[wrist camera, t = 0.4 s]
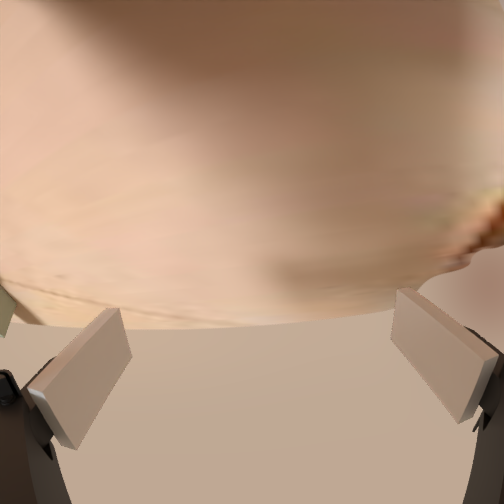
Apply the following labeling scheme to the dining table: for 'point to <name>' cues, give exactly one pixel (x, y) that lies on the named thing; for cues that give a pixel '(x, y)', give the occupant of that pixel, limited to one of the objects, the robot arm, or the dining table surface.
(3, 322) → the sage box
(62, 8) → the dining table surface
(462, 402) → the robot arm
